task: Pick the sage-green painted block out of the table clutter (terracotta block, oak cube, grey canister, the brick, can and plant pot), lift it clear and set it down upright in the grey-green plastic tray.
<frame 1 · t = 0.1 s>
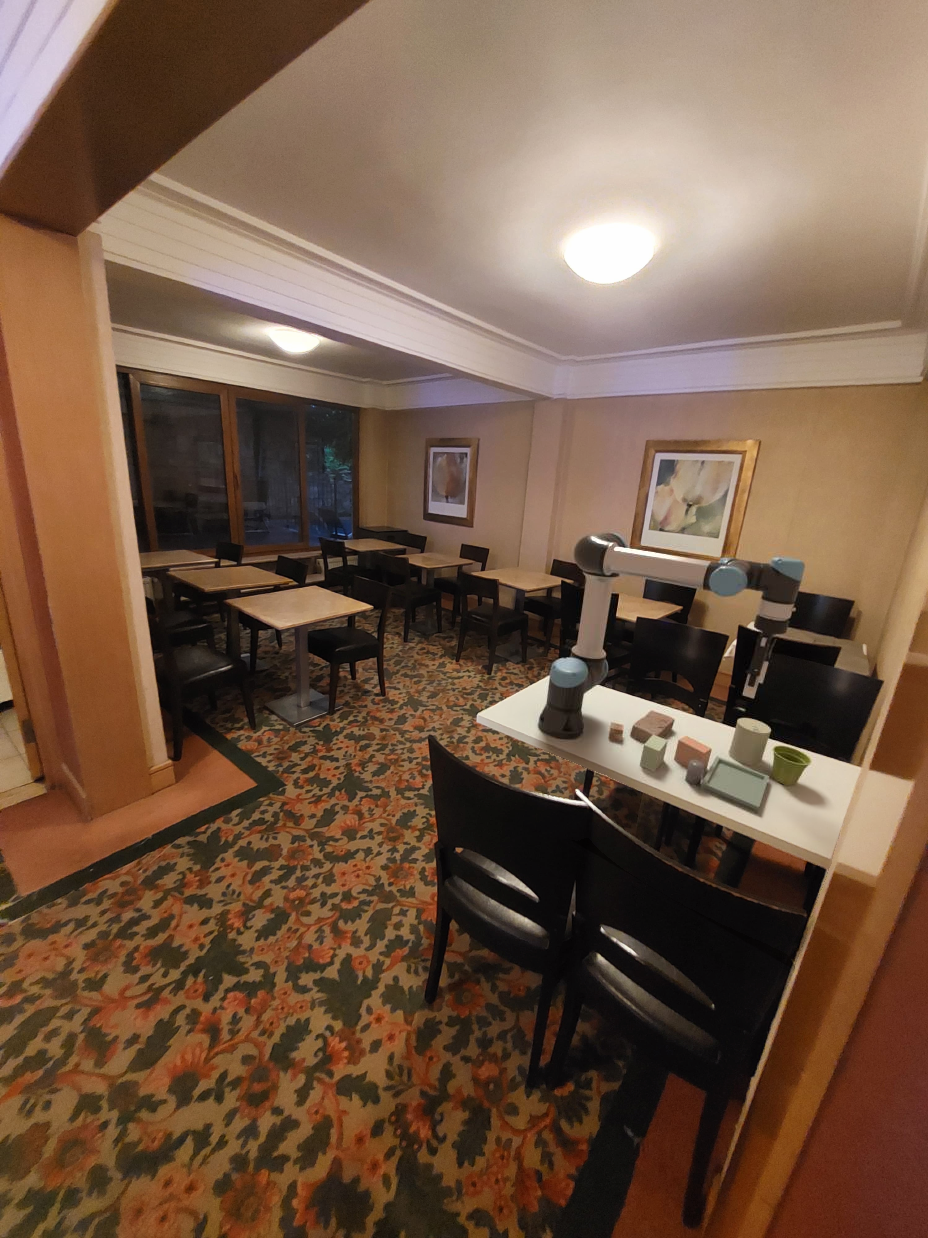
hand: (752, 688, 129), 28 cm above the table, fingers open, 13 cm apart
brick: (651, 733, 158), on the table
sage block: (651, 762, 141), on the table
oak block: (615, 737, 154), on the table
plant pot: (783, 780, 137), on the table
grey canister: (692, 781, 133), on the table
can: (744, 757, 147), on the table
tray: (734, 785, 132), on the table
terracotta block: (690, 764, 141), on the table
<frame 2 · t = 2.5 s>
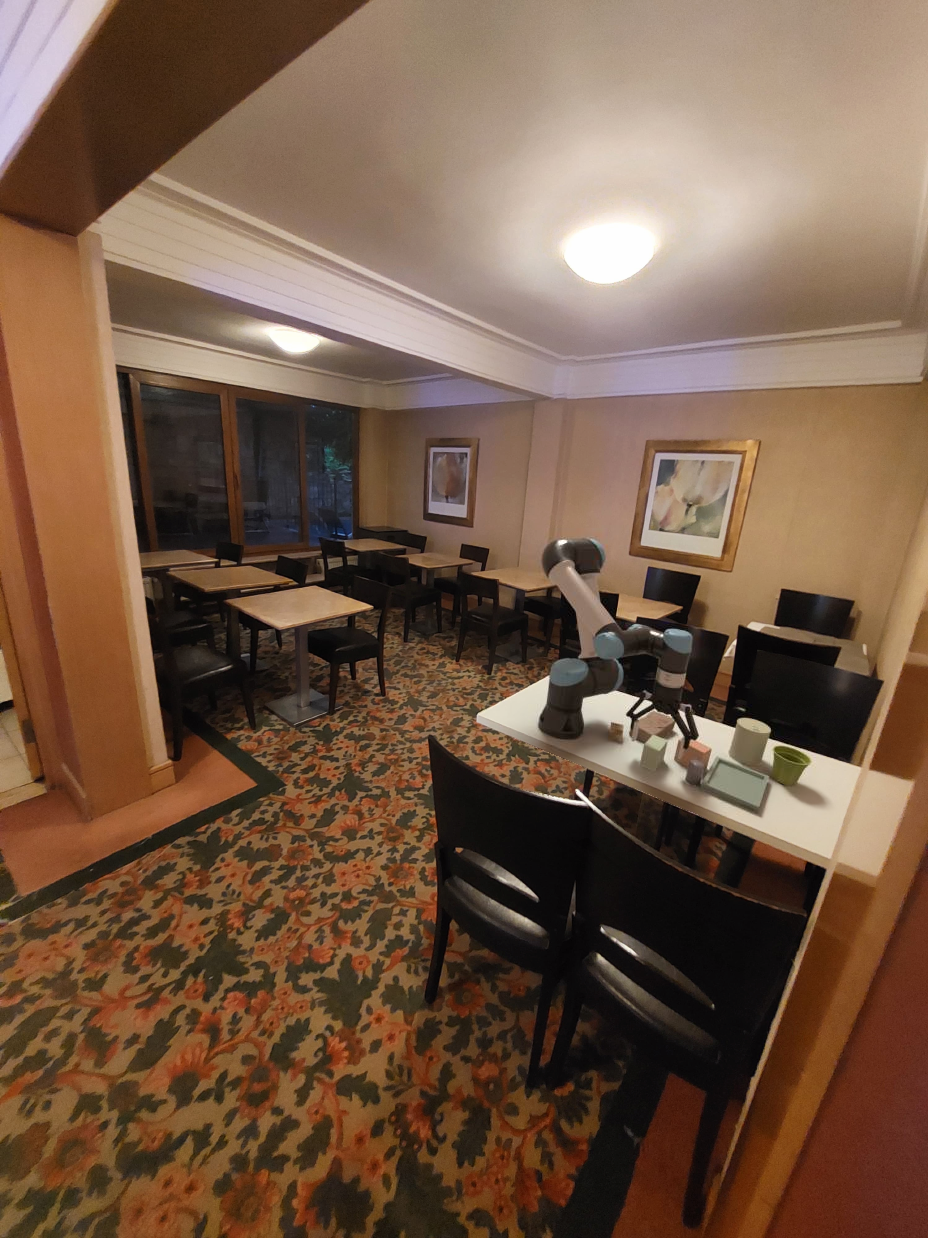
hand: (656, 748, 139), 5 cm above the table, fingers open, 13 cm apart
nothing on the table moved.
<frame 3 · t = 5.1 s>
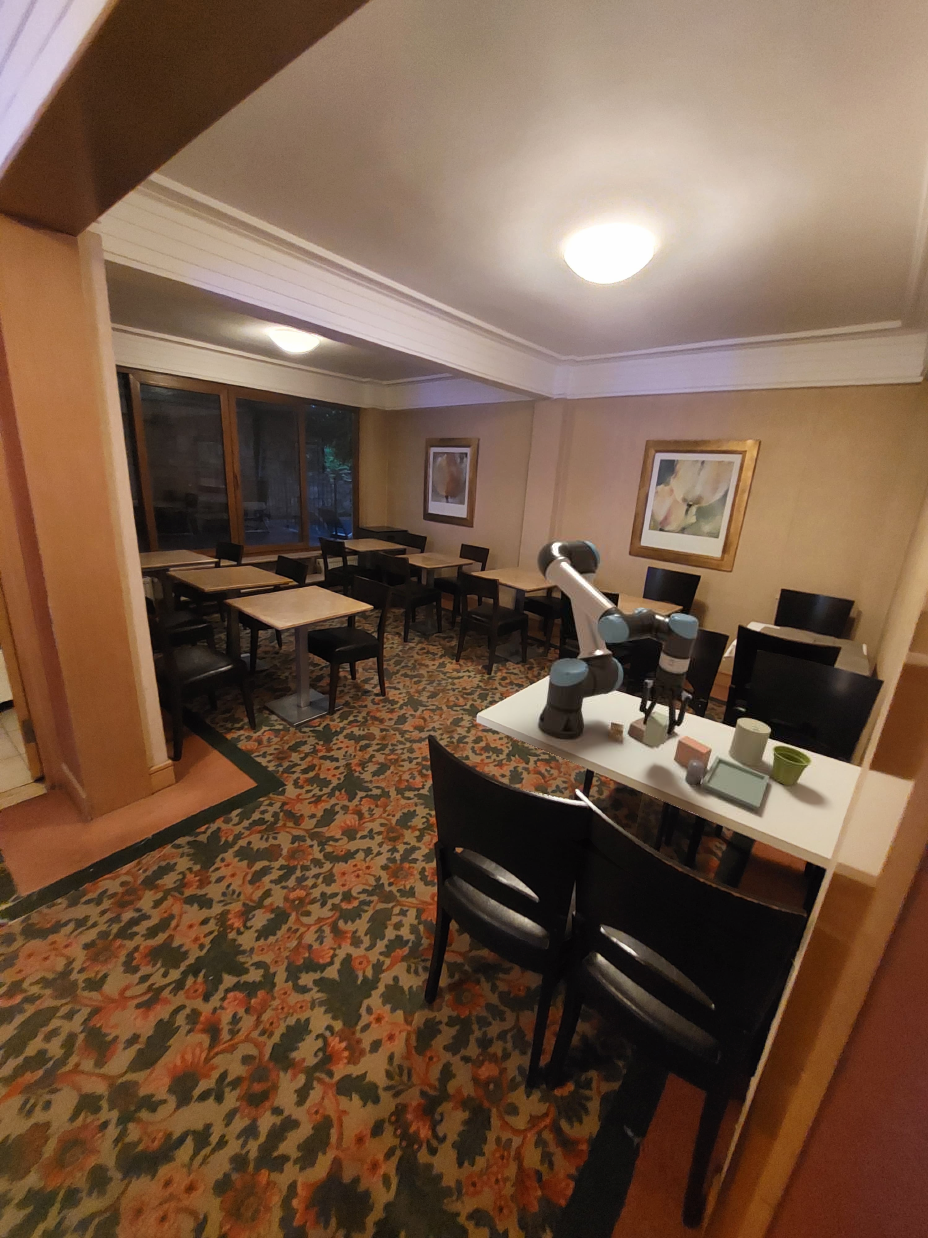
hand: (654, 738, 139), 8 cm above the table, fingers closed on sage block, 4 cm apart
sage block: (654, 739, 139), point 8 cm above the table, touching gripper
everything else where it was.
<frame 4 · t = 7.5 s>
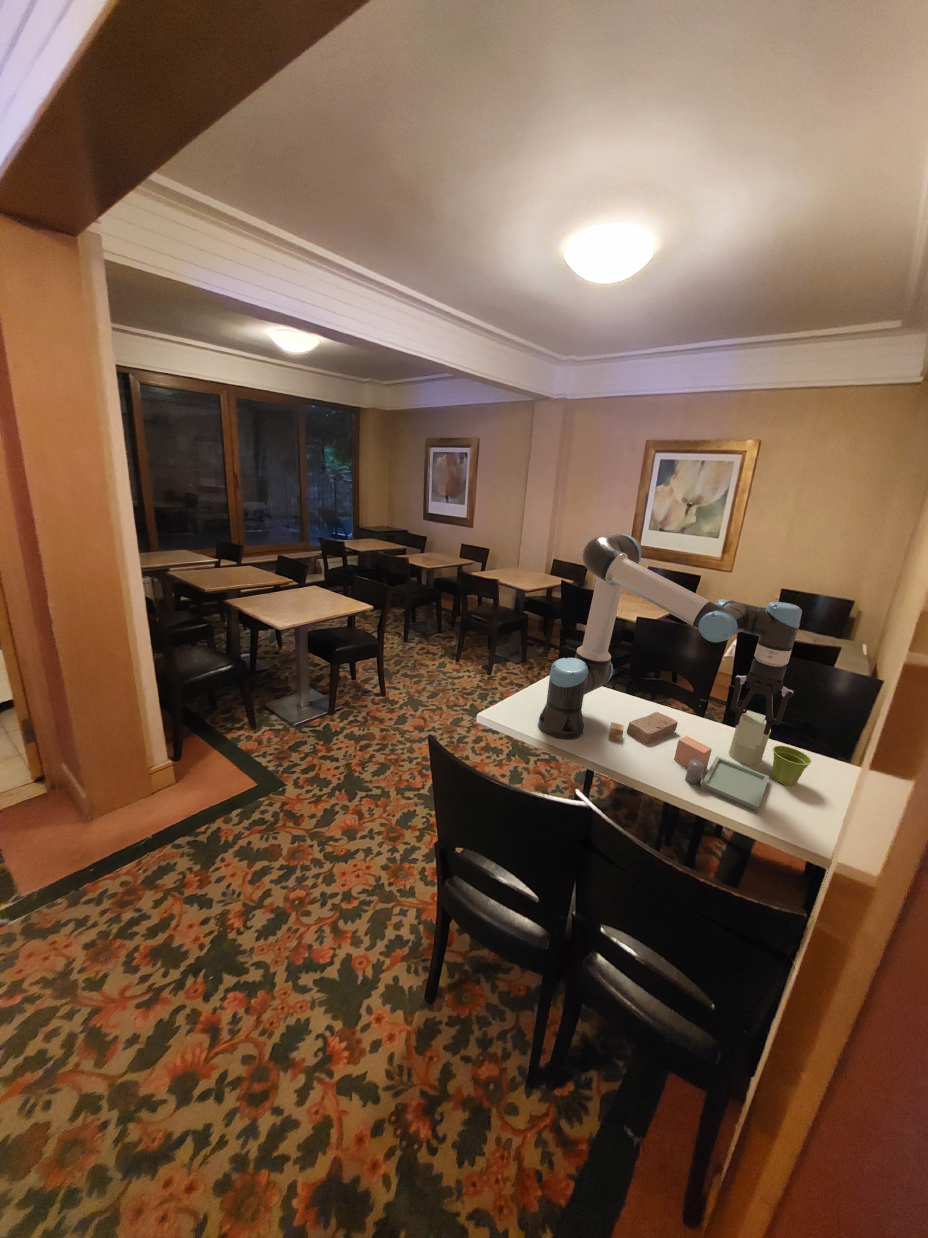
hand: (748, 739, 128), 15 cm above the table, fingers closed on sage block, 4 cm apart
sage block: (747, 740, 128), point 15 cm above the table, touching gripper
everything else where it was.
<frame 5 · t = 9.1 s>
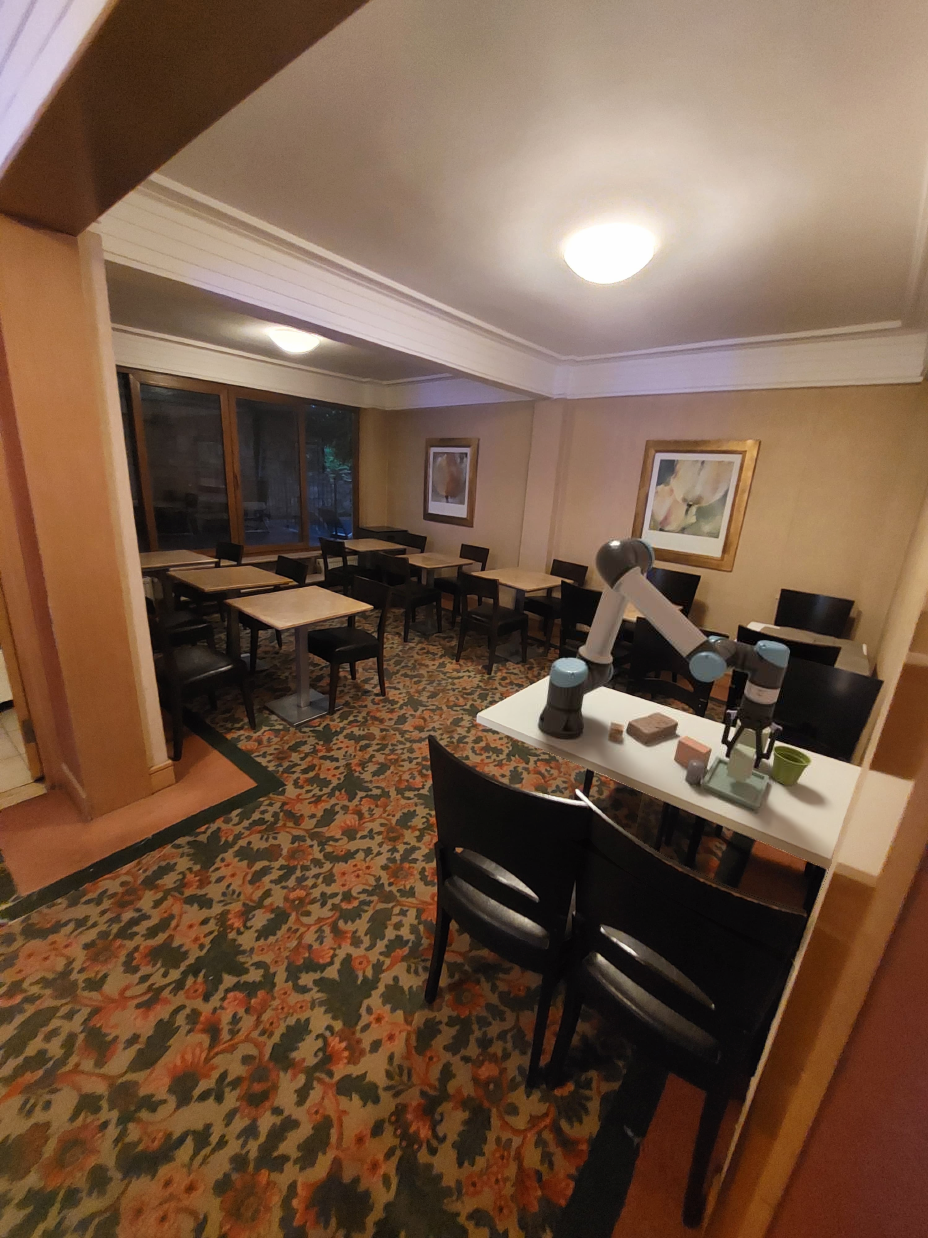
hand: (738, 772, 131), 5 cm above the table, fingers closed on sage block, 4 cm apart
sage block: (738, 773, 131), point 4 cm above the table, touching gripper
when the fingers open (2 cm above the table, at t = 10.4 s): sage block stays where it is, resting on tray.
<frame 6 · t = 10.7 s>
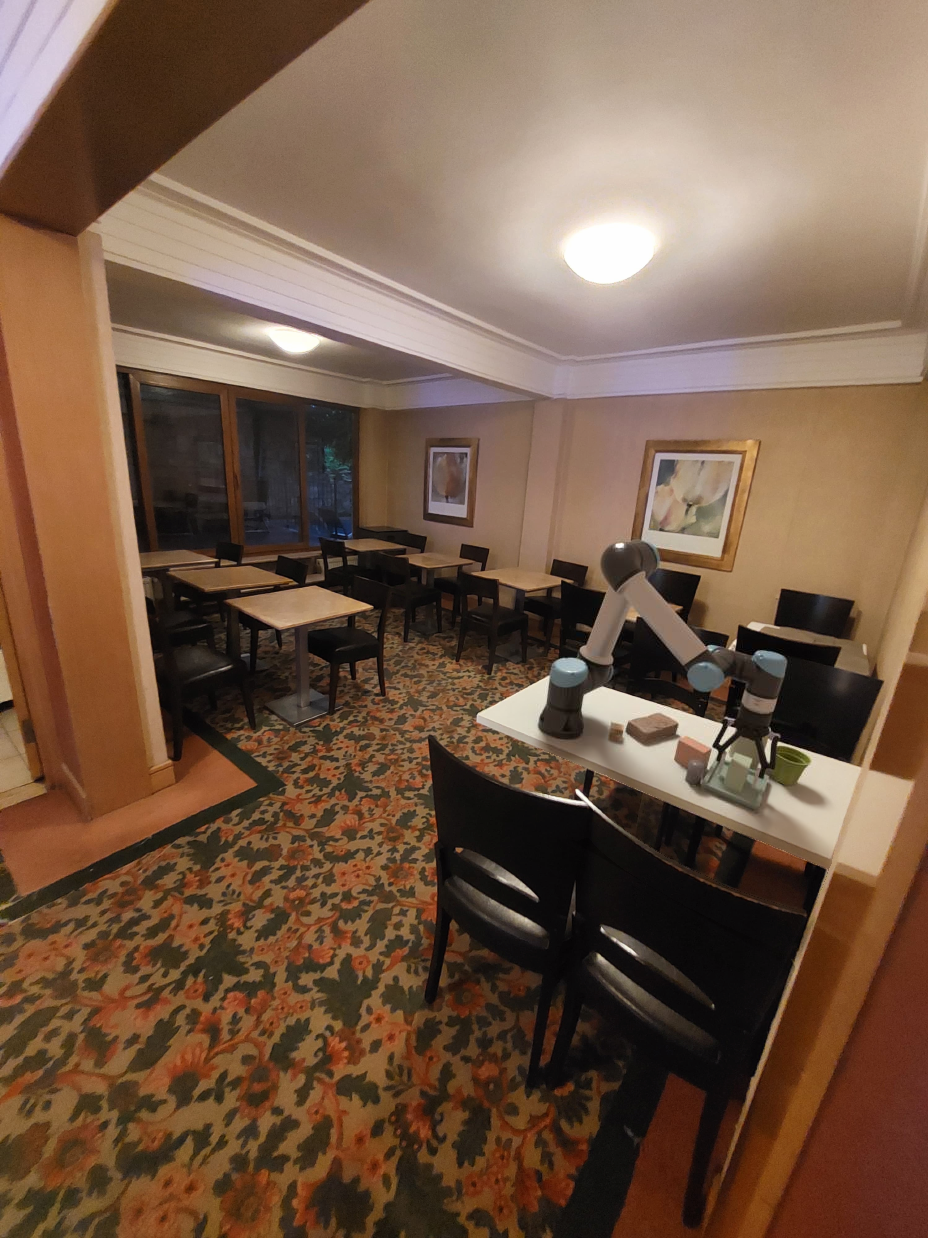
hand: (736, 778, 132), 2 cm above the table, fingers open, 8 cm apart
sage block: (734, 782, 132), point 1 cm above the table, touching tray
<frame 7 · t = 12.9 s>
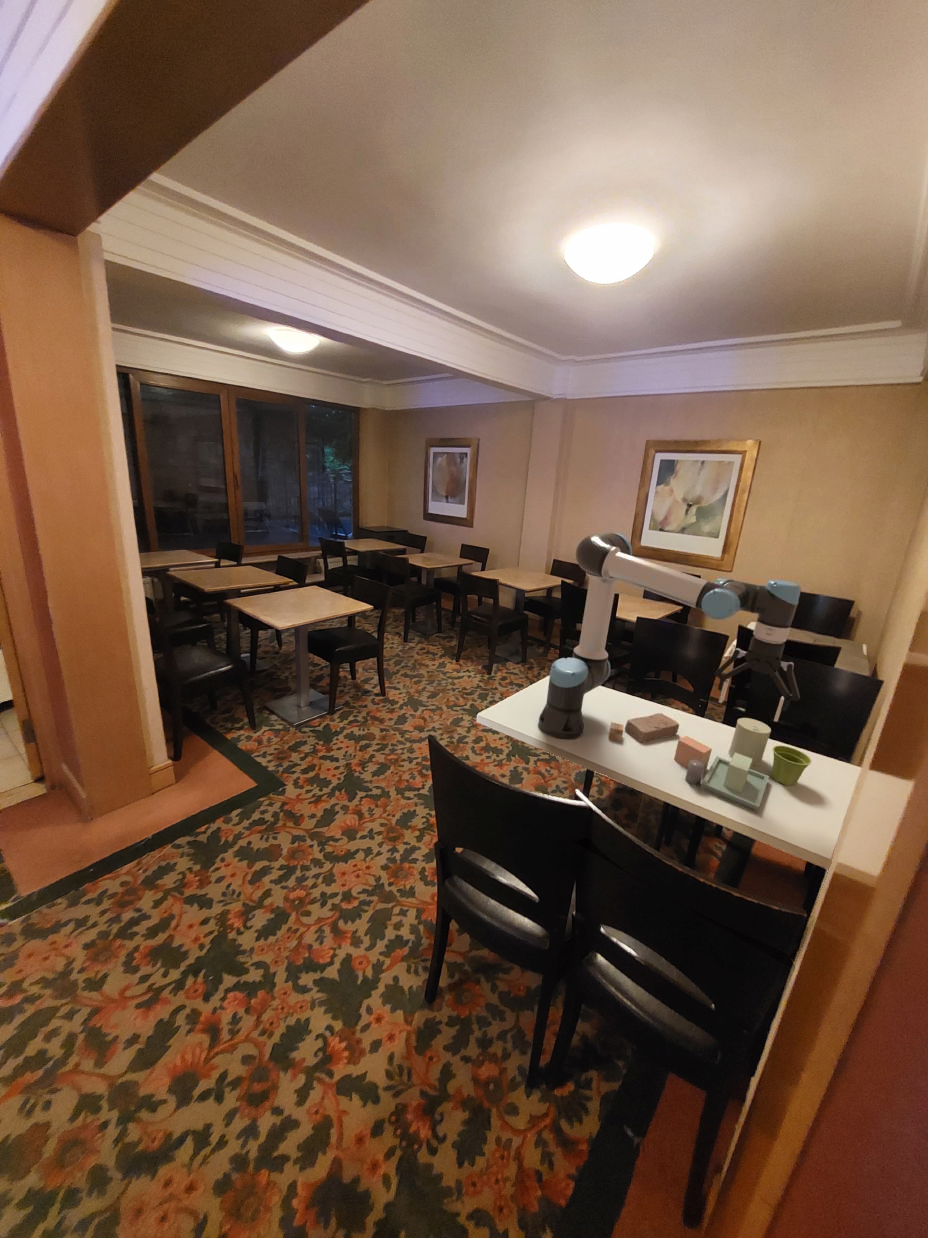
hand: (747, 710, 129), 22 cm above the table, fingers open, 13 cm apart
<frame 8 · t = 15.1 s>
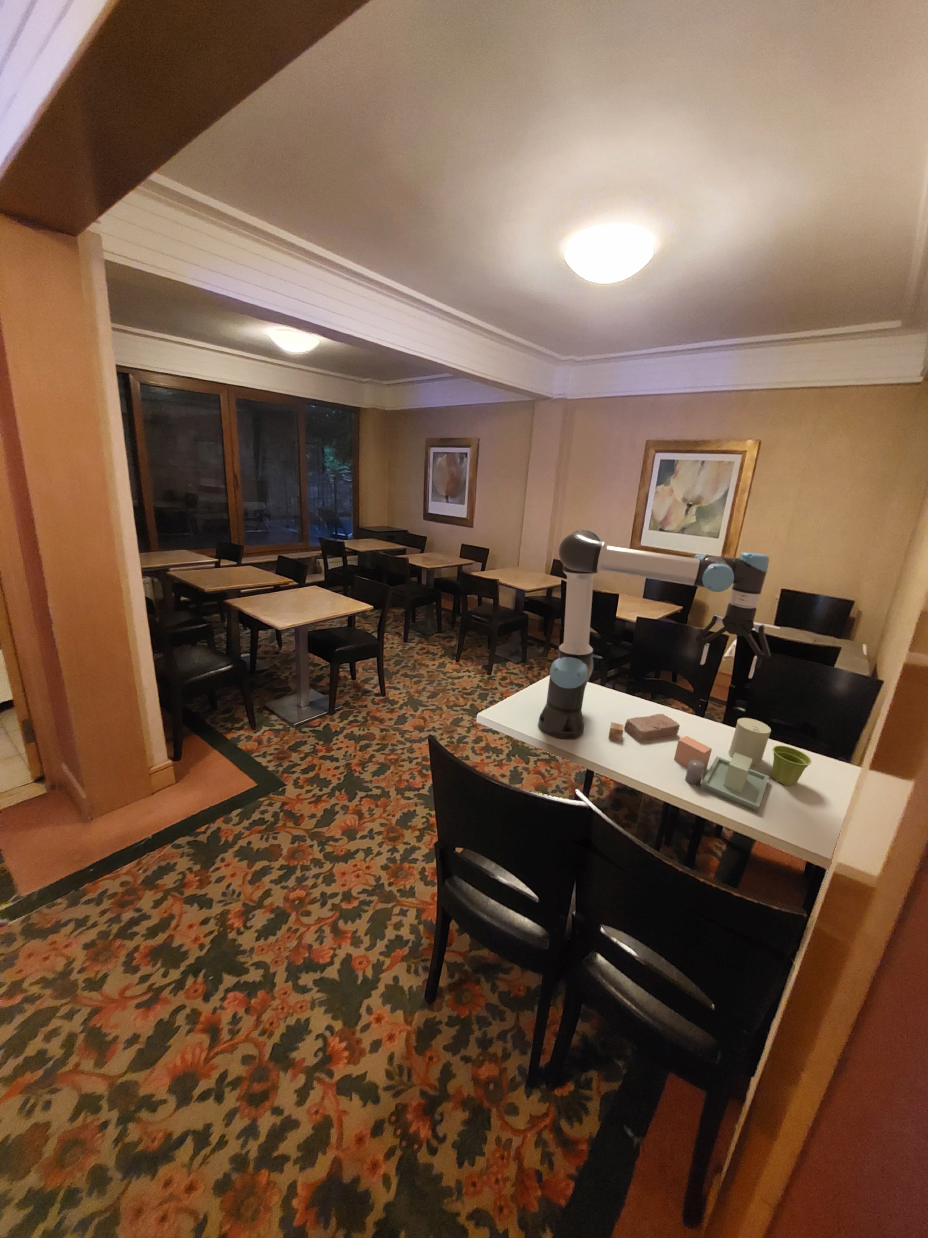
hand: (725, 670, 145), 27 cm above the table, fingers open, 13 cm apart
at the end: sage block inside the target area on the tray (0.1 cm from its centre), point 1.0 cm above the tray's base; sage block tilted 0°; the gripper is holding nothing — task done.
